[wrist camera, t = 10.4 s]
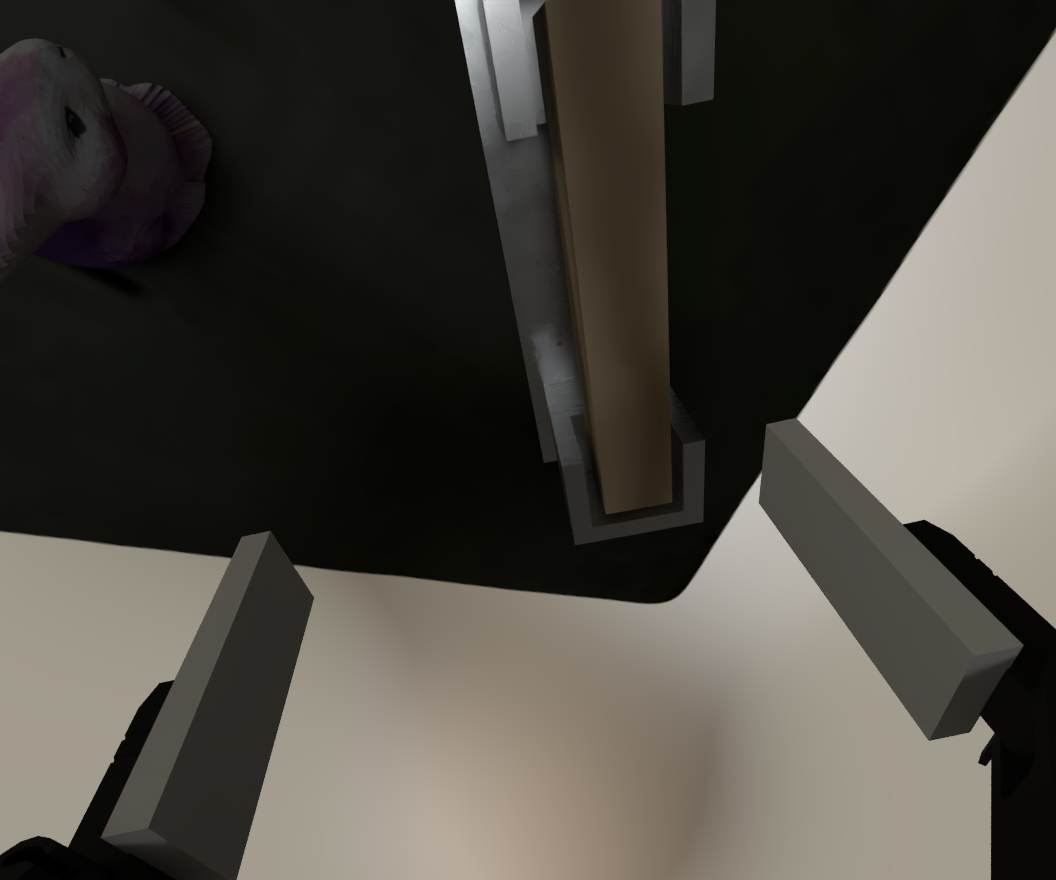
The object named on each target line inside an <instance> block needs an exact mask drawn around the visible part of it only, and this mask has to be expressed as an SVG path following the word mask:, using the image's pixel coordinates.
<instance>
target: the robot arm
mask: <svg viewBox="0 0 1056 880" xmlns="http://www.w3.org/2000/svg"><path fill="white" fill-rule="evenodd" d="M759 504H760V505H761V507H762V508H763V509H764V511H765V512H766V513H767V515H768V516H769V518H770V519H771V520H772V522H773V523H774V525H775V526H776V527H777V529H778V530H779V532H780V533H781V534H782V536H783V537H784V539H785V540H786V542H787V543H788V544H789V546H790V547H791V548H792V550H793V551H794V553H795V554H796V556H797V557H798V558H799V560H800V561H801V563H802V564H803V565H804V567H805V568H806V570H807V571H808V572H809V574H810V575H811V577H812V578H813V579H814V580H815V582H816V583H817V585H818V586H819V588H820V589H821V591H822V592H823V593H824V595H825V596H826V597H827V599H828V600H829V602H830V603H831V605H832V606H833V607H834V609H835V610H836V611H837V613H838V614H839V616H840V617H841V618H842V620H843V621H844V622H845V624H846V626H847V627H848V628H849V630H850V631H851V633H852V634H853V635H854V637H855V638H856V640H857V641H858V642H859V644H860V645H861V646H862V648H863V649H864V650H865V652H866V654H867V655H868V656H869V658H870V659H871V661H872V662H873V663H874V665H875V666H876V667H877V669H878V670H879V671H880V673H881V674H882V676H883V677H884V679H885V680H886V681H887V683H888V684H889V686H890V687H891V688H892V690H893V691H894V693H895V694H896V695H897V697H898V698H899V700H900V701H901V702H902V704H903V705H904V707H905V708H906V709H907V711H908V712H909V714H910V715H911V716H912V718H913V719H914V721H915V722H916V723H917V725H918V726H919V728H920V729H921V730H922V732H923V733H924V735H925V736H926V737H927V739H928V740H929V741H930V740H935V739H940V738H945V737H949V736H954V735H959V734H964V733H969V732H970V731H971V730H972V728H973V727H974V725H975V723H976V721H977V720H978V718H979V717H980V716H981V717H982V718H983V719H984V720H985V722H986V723H987V724H988V725H989V726H990V728H991V729H992V730H993V731H994V733H995V734H994V735H993V736H992V738H991V739H990V741H989V743H988V744H987V745H986V747H985V749H984V750H983V751H982V753H981V756H980V759H979V762H978V763H979V764H982V765H984V766H986V765H987V764H988V762H989V761H990V760H991V773H992V774H991V880H1056V629H1055V628H1054V627H1053V626H1052V625H1051V624H1050V623H1048V622H1047V621H1046V620H1045V619H1044V618H1043V617H1042V616H1041V615H1039V614H1038V613H1037V612H1036V611H1035V610H1034V609H1033V608H1032V607H1031V606H1030V605H1029V604H1028V603H1027V602H1026V601H1024V600H1023V599H1022V598H1021V597H1020V596H1019V595H1018V594H1017V593H1016V592H1015V591H1013V590H1012V589H1011V588H1010V587H1009V586H1008V585H1007V584H1006V583H1005V582H1004V581H1003V580H1002V579H1000V578H999V577H998V576H994V575H993V573H992V570H991V569H990V568H988V567H987V566H986V565H985V564H984V563H983V562H982V561H980V559H976V558H975V555H974V554H973V553H972V552H971V551H970V550H969V549H968V548H967V547H966V546H964V545H963V544H962V543H961V542H960V541H959V540H958V539H957V538H956V537H955V536H954V535H952V534H950V533H948V532H946V531H944V530H943V529H941V528H939V527H937V526H935V525H933V524H931V523H930V522H928V521H926V520H922V521H917V522H912V523H908V524H903V525H902V524H901V523H900V522H899V521H898V520H897V519H896V518H895V517H894V516H893V515H892V514H891V513H890V512H889V511H888V510H887V509H886V508H885V507H884V506H883V505H882V504H881V503H880V502H879V501H878V500H877V499H876V498H875V497H874V496H873V495H872V494H871V493H870V492H869V491H868V490H867V489H866V488H865V487H864V486H863V485H862V484H861V483H860V482H859V481H858V480H857V479H856V478H855V477H854V476H853V475H852V474H851V473H850V472H849V471H848V470H847V469H846V468H845V467H844V466H843V465H842V464H841V463H840V462H839V461H838V460H837V459H836V458H835V457H834V456H833V455H832V454H831V453H830V452H829V451H828V450H827V449H826V448H825V447H824V446H823V445H822V444H821V443H820V442H819V441H818V440H817V439H816V438H815V437H814V436H813V435H812V434H811V433H810V432H809V431H808V430H807V429H806V428H805V427H804V426H803V425H802V424H801V423H800V422H799V421H798V420H797V419H796V418H794V419H789V420H785V421H780V422H776V423H771V424H767V425H766V435H765V445H764V456H763V466H762V477H761V487H760V497H759ZM313 600H314V597H313V595H312V594H311V592H310V591H309V589H308V588H307V586H306V585H305V583H304V582H303V580H302V578H301V577H300V575H299V574H298V572H297V571H296V570H295V568H294V566H293V565H292V563H291V562H290V560H289V559H288V557H287V555H286V554H285V552H284V551H283V549H282V548H281V546H280V545H279V543H278V542H277V540H276V539H275V537H274V536H273V534H272V532H271V531H268V532H263V533H258V534H254V535H249V536H244V537H242V538H241V540H240V542H239V544H238V546H237V548H236V551H235V553H234V555H233V557H232V559H231V561H230V563H229V566H228V568H227V570H226V572H225V574H224V576H223V578H222V580H221V583H220V585H219V587H218V589H217V591H216V593H215V595H214V597H213V600H212V602H211V604H210V606H209V608H208V610H207V613H206V614H205V617H204V619H203V621H202V623H201V625H200V627H199V629H198V631H197V634H196V636H195V638H194V640H193V642H192V644H191V646H190V649H189V651H188V653H187V655H186V657H185V659H184V662H183V664H182V666H181V668H180V670H179V672H178V674H177V676H176V678H175V680H172V681H168V682H163V683H159V684H158V686H157V687H156V688H155V689H154V690H153V692H152V693H151V694H150V695H149V696H148V698H147V699H146V700H145V701H144V702H143V704H142V705H141V706H140V707H139V708H138V710H137V712H136V714H135V716H134V719H133V720H132V722H131V724H130V726H129V728H128V730H127V732H126V734H125V740H123V741H122V742H121V744H120V746H119V748H118V750H117V752H116V754H115V756H114V762H113V763H111V764H110V766H109V768H108V769H107V772H106V773H105V776H104V777H103V780H102V781H101V783H100V785H99V787H98V790H97V791H96V794H95V795H94V797H93V799H92V801H91V803H90V806H89V807H88V809H87V811H86V813H85V815H84V817H83V819H82V821H81V823H80V825H79V827H78V829H77V831H76V833H75V835H74V837H73V839H72V841H71V843H70V845H69V847H66V846H64V845H62V844H60V843H58V842H56V841H54V840H52V839H51V838H46V837H40V836H37V837H34V838H31V839H27V840H24V841H21V842H20V843H18V844H16V845H15V846H13V847H12V848H10V849H9V850H7V851H6V852H4V853H3V854H1V855H0V880H236V879H237V876H238V872H239V869H240V865H241V861H242V858H243V854H244V850H245V847H246V843H247V840H248V836H249V832H250V829H251V825H252V821H253V818H254V814H255V811H256V807H257V803H258V800H259V796H260V792H261V789H262V785H263V781H264V778H265V774H266V771H267V767H268V763H269V760H270V756H271V752H272V748H273V745H274V741H275V738H276V734H277V730H278V727H279V723H280V720H281V716H282V712H283V709H284V705H285V701H286V698H287V694H288V691H289V687H290V683H291V679H292V676H293V672H294V668H295V665H296V661H297V657H298V654H299V651H300V646H301V643H302V640H303V636H304V632H305V628H306V625H307V621H308V617H309V614H310V611H311V607H312V603H313Z"/></svg>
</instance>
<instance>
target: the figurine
mask: <svg viewBox="0 0 1056 880" xmlns="http://www.w3.org/2000/svg"><path fill="white" fill-rule="evenodd" d="M211 154H212V138H211V137H210V135H209V134H208V131H207V129H205V128H204V126H203V125H202V124H201V123H200V122H199V120H196V118H195V116H194V115H191V112H190V111H189V110H187V108H186V106H184V105H182V102H181V101H179V100H178V99H177V97H176V96H174V95H173V94H171V93H170V91H168V90H165V89H164V88H163V87H161V86H158V85H155V84H151V83H142V84H136V85H132V86H131V87H126V86H124V85H122V84H121V83H119V82H116V81H114V80H111V79H101V78H99V76H98V74H97V73H96V71H95V70H94V69H93V68H92V67H91V66H90V65H89V64H88V63H87V62H86V61H85V60H84V59H83V58H82V57H81V56H79V55H78V54H76V53H75V52H73V51H72V50H70V49H68V48H65V47H62V46H59V45H56V44H54V43H52V42H50V41H46V40H43V39H26V40H22V41H20V42H18V43H16V44H14V45H13V46H11V47H10V48H8V49H7V50H6V51H4V52H3V53H2V54H0V284H1V283H2V282H3V281H4V280H5V279H6V278H7V277H9V276H10V275H11V274H12V273H13V272H14V271H15V270H16V269H17V268H18V267H19V266H20V265H21V264H23V263H24V262H25V261H26V260H27V259H28V258H29V257H30V256H31V255H32V254H35V255H37V256H40V257H42V258H45V259H49V260H52V261H55V262H60V263H64V264H68V265H73V266H81V267H91V268H102V269H113V270H119V269H126V268H131V267H135V266H138V265H140V264H142V263H144V262H145V261H147V260H149V259H150V258H152V257H154V256H155V255H157V254H158V253H160V252H161V251H163V250H166V249H168V248H169V247H171V246H173V245H174V244H175V243H176V242H178V241H179V240H180V238H181V237H182V236H183V235H184V233H185V232H186V231H187V230H188V229H189V227H190V226H191V225H192V224H193V222H194V221H195V220H196V218H197V216H198V215H199V212H200V210H201V209H202V206H203V204H204V203H205V185H206V183H205V178H204V174H205V173H206V168H207V166H208V163H209V161H210V158H211Z"/></svg>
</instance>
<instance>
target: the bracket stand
mask: <svg viewBox="0 0 1056 880" xmlns="http://www.w3.org/2000/svg"><path fill="white" fill-rule="evenodd" d="M545 1H550V0H455V4H456V9H457V14H458V19H459V24H460V30H461V35H462V40H463V45H464V50H465V56H466V61H467V66H468V71H469V76H470V82H471V87H472V92H473V97H474V102H475V107H476V113H477V118H478V123H479V128H480V133H481V139H482V144H483V149H484V154H485V159H486V165H487V170H488V175H489V180H490V185H491V191H492V196H493V201H494V206H495V211H496V216H497V222H498V227H499V232H500V237H501V242H502V248H503V253H504V258H505V263H506V268H507V274H508V279H509V284H510V289H511V294H512V300H513V305H514V310H515V315H516V320H517V325H518V331H519V336H520V341H521V346H522V351H523V357H524V362H525V367H526V372H527V377H528V383H529V388H530V393H531V398H532V403H533V409H534V414H535V419H536V424H537V429H538V434H539V440H540V445H541V450H542V455H543V460H544V463H546V462H552V461H558V466H559V470H560V475H561V479H562V485H563V491H564V496H565V501H566V505H567V510H568V514H569V519H570V524H571V528H572V533H573V537H574V542H575V545H579V544H584V543H590V542H595V541H601V540H606V539H612V538H617V537H623V536H628V535H634V534H639V533H645V532H650V531H655V530H661V529H666V528H672V527H677V526H683V525H688V524H694V523H699V522H703V503H704V462H705V439H704V438H703V436H702V435H701V433H700V432H699V430H698V429H697V427H696V426H695V424H694V422H693V421H692V419H691V418H690V416H689V415H688V413H687V412H686V410H685V409H684V407H683V405H682V404H681V402H680V401H679V399H678V398H677V396H676V395H675V393H674V392H673V390H672V388H671V387H670V419H671V465H672V502H671V503H666V504H661V505H655V506H650V507H644V508H639V509H634V510H628V511H623V512H617V513H612V514H607V515H606V513H605V510H604V506H603V503H602V500H601V496H600V493H599V490H598V487H597V483H596V480H595V477H594V473H593V470H592V467H591V462H590V454H589V447H588V439H587V431H586V424H585V416H584V409H583V401H582V393H581V386H580V378H579V371H578V363H577V355H576V348H575V340H574V332H573V325H572V317H571V310H570V302H569V294H568V287H567V279H566V272H565V264H564V256H563V249H562V241H561V233H560V226H559V218H558V211H557V203H556V195H555V188H554V180H553V172H552V165H551V157H550V150H549V142H548V134H547V127H546V119H545V112H544V104H543V96H542V89H541V81H540V73H539V66H538V58H537V51H536V43H535V35H534V28H533V20H532V17H533V16H534V14H535V13H536V12H537V11H538V9H539V8H540V7H541V6H542V5H543V3H544V2H545ZM661 10H662V56H663V101H664V104H672V105H687V104H692V103H696V102H701V101H706V100H711V99H713V93H714V52H715V11H716V0H661Z"/></svg>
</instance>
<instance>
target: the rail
mask: <svg viewBox="0 0 1056 880" xmlns="http://www.w3.org/2000/svg"><path fill="white" fill-rule="evenodd" d="M532 20H533V28H534V35H535V43H536V51H537V58H538V66H539V73H540V81H541V89H542V96H543V104H544V112H545V119H546V127H547V134H548V142H549V150H550V157H551V165H552V172H553V180H554V188H555V195H556V203H557V211H558V218H559V226H560V233H561V241H562V249H563V256H564V264H565V272H566V279H567V287H568V294H569V302H570V310H571V317H572V325H573V332H574V340H575V348H576V355H577V363H578V371H579V378H580V386H581V393H582V401H583V409H584V416H585V424H586V431H587V439H588V447H589V454H590V462H591V467H592V470H593V473H594V477H595V480H596V483H597V487H598V490H599V493H600V496H601V500H602V503H603V506H604V510H605V513H606V515H607V514H612V513H617V512H623V511H628V510H634V509H639V508H644V507H650V506H655V505H661V504H666V503H671V502H672V465H671V419H670V374H669V328H668V283H667V237H666V192H665V147H664V101H663V56H662V10H661V0H550V1H545V2H544V3H543V5H542V6H541V7H540V8H539V9H538V11H537V12H536V13H535V14H534V16H533V17H532Z"/></svg>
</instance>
